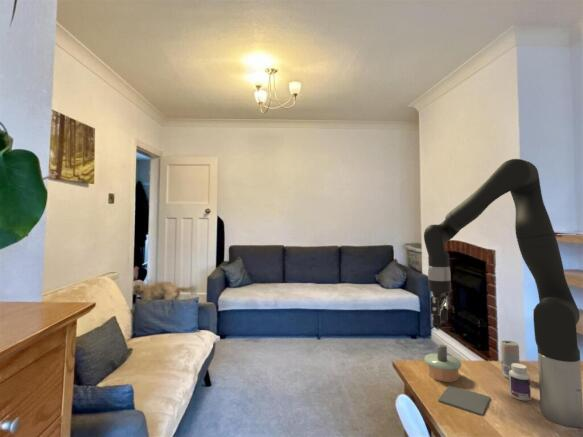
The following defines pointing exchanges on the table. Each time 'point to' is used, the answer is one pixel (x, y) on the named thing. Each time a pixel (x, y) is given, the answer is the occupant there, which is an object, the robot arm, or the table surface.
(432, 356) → the lid
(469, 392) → the mat
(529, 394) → the pill bottle
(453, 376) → the bowl
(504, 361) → the energy drink
